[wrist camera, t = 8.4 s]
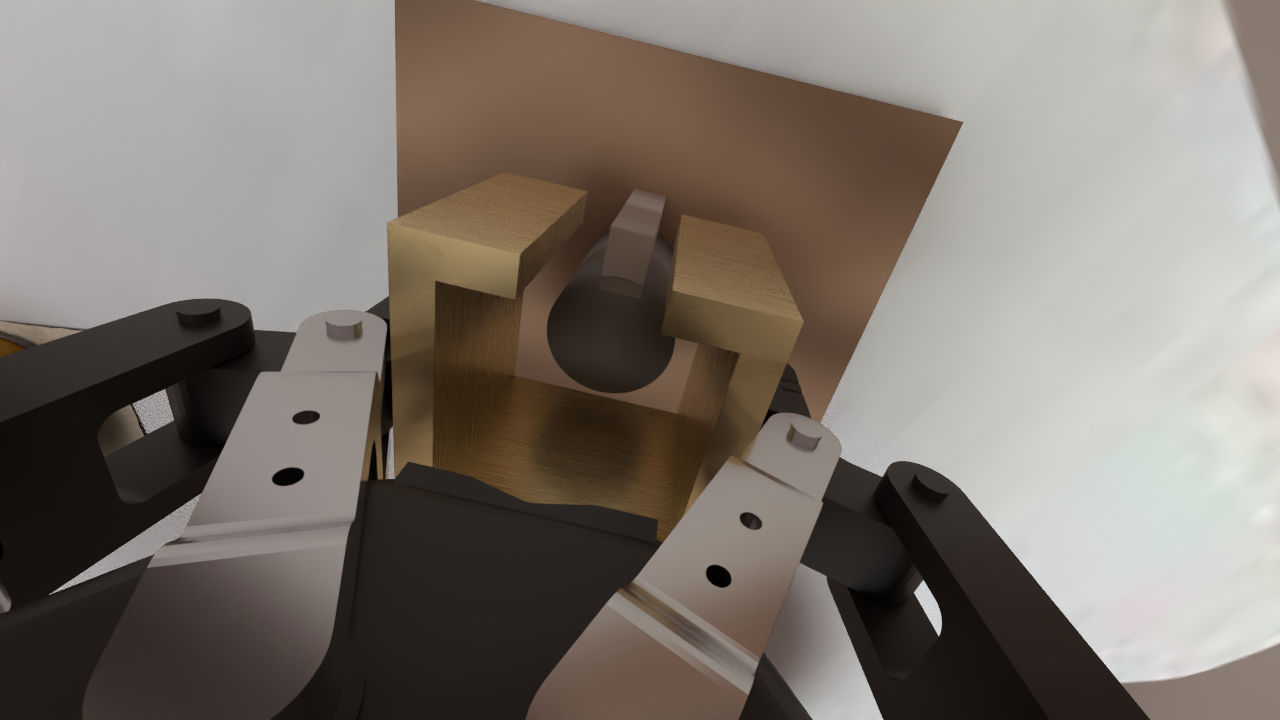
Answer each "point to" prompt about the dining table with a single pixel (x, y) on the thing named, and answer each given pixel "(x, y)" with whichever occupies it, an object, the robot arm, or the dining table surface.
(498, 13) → the keyed stand
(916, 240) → the dining table surface
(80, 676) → the robot arm
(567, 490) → the collar
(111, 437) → the condiment
